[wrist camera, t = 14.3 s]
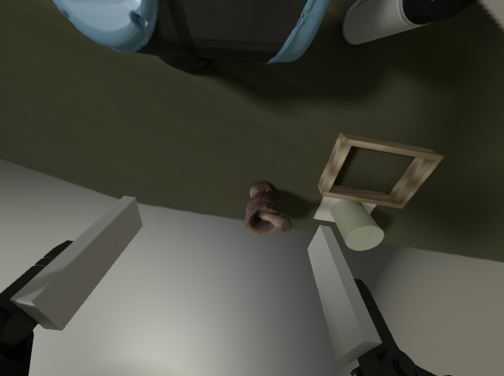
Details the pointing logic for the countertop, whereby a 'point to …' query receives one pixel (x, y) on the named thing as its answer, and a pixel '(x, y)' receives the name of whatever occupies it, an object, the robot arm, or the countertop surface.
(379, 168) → the countertop surface
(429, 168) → the wooden frame
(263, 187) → the mortar and pestle
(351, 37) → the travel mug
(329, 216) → the mat
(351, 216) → the can
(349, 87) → the countertop surface
